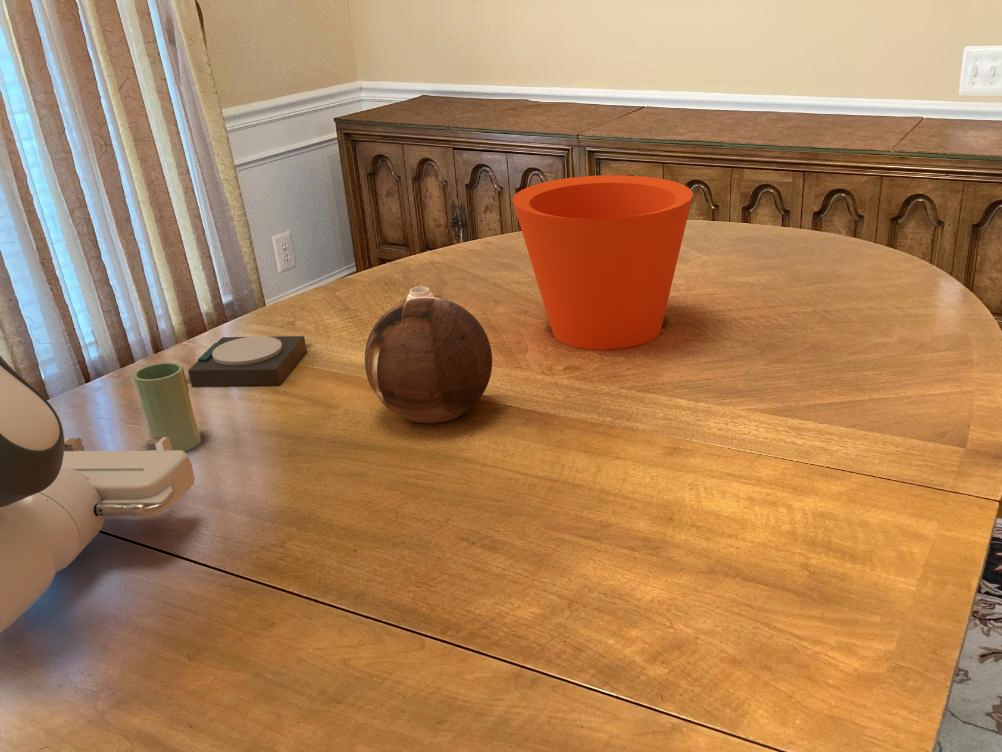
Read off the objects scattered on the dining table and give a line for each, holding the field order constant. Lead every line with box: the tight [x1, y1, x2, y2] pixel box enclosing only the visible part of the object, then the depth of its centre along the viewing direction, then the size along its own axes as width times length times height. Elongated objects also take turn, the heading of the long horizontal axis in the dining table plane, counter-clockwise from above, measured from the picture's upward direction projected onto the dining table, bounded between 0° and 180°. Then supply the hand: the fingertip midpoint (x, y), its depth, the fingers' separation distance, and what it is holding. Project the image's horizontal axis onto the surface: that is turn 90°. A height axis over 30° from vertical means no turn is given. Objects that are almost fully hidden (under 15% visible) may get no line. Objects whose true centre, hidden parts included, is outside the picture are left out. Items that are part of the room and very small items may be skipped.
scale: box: [187, 335, 308, 387], centre depth 135 cm, size 12×12×3 cm
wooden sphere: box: [364, 296, 493, 424], centre depth 117 cm, size 15×15×15 cm
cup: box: [132, 361, 202, 453], centre depth 112 cm, size 5×5×10 cm
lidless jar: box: [405, 286, 435, 301], centre depth 155 cm, size 5×3×5 cm
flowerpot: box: [512, 174, 694, 351], centre depth 140 cm, size 25×25×20 cm
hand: (120, 443), depth 102 cm, fingers open, 8 cm apart
